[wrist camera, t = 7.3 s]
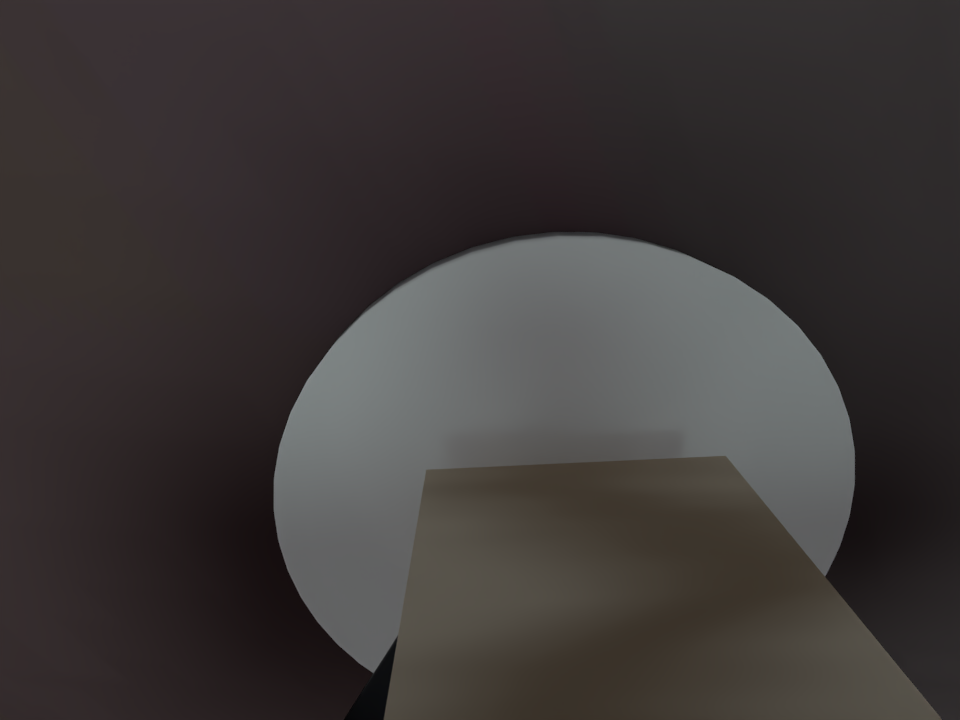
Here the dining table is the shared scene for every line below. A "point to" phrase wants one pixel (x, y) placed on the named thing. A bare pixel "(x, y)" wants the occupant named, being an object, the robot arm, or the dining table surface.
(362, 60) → the dining table surface
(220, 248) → the dining table surface
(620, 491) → the block
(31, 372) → the dining table surface
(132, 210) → the dining table surface
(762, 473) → the pale round disc
